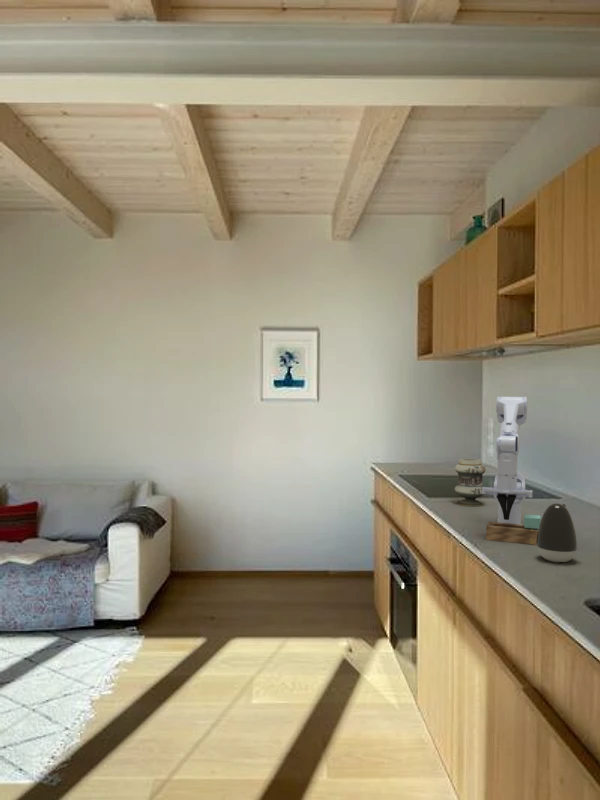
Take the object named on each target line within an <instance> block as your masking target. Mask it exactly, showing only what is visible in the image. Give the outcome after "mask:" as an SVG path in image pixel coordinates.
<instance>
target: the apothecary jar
mask: <svg viewBox="0 0 600 800" xmlns="http://www.w3.org/2000/svg"><path fill="white" fill-rule="evenodd" d="M458 461H459V462H458V464H456V465H455V468H454V470H455V472H456V473H457V485H456V486H455V487H454V492H455V494H457V496H460V497H462V498H464V499H461V500H459V501H457V503H458V504H457V505H459V504H460V506H463V505H465V507H481V506H483V505H484V504H483V502H481V501H479V500H477V498H479V497H480V498H481V497H482V496H484V495H485V494H482V487H485V486H484V484H483V474H485V472H486V470H487V469H486V466H485V465H483V463H482V459H478V458H459V460H458Z"/></svg>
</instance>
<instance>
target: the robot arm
mask: <svg viewBox="0 0 600 800" xmlns="http://www.w3.org/2000/svg"><path fill="white" fill-rule="evenodd" d="M495 403H496V404H495V405H496V406H495V407H496V408H495V409H496V419H497V422H498V423H500V425H499V432H498V436H497V437H496V440H495V451H496V460H497V470H496V471H497V473H496V474H495V477H494V481H493V487H492V486H491V487H490V486H489V487H488V486H484V487H482V494H484V495H493V498H494V499H495V500H497V522H500V523H511V524H522V522H521V521H522V519H521V518H522V515H521V513H522V502H524V501H525V500H526V498H533V490H532V489H526V478H525V476H524V475H523V474H521V472H519V471H518V454H519V452H520V437H519V431H520V428H521V426H522V425H524V424H526V422H527V418H528V397H527V396H500V395H498V396H497V397H496V401H495ZM522 525H524V523H523V524H522Z"/></svg>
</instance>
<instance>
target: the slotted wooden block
mask: <svg viewBox="0 0 600 800" xmlns="http://www.w3.org/2000/svg"><path fill="white" fill-rule="evenodd" d="M537 534H538V530H535V529H525V528H524V524H523V525H522V523H521V524H511V523H500V522H498V521H497V522H496V521H488V523H487V524H486V528H485V540H486V541H494V542H495V541H496V542H503V541H504V542H505V543H513V544H514V543H515V544H525V545H535V546H537V545H536V540H537ZM504 542H503V543H504Z"/></svg>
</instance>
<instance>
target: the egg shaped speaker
mask: <svg viewBox="0 0 600 800" xmlns="http://www.w3.org/2000/svg"><path fill="white" fill-rule="evenodd" d="M535 546H537V550H538V553H539V554H540V555H541V558H543V559H544V560H547V561H548V562H552V563H559V562H563V563H567V562H570V561H571V560H572V559H574V557H575V555H576V552H577V550H578V548H579V547H578V539H577V533H576V528H575V524H574V521H573V518H572V516H571V513H570V512H569V510H568V508H567V507H566V504H564V503H552V504H550V505H549V506H547V507H546V509H545V511H544V512H543V515H542V516H541V522H540V525H539V529H538V534H537V540H536V545H535Z"/></svg>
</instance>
